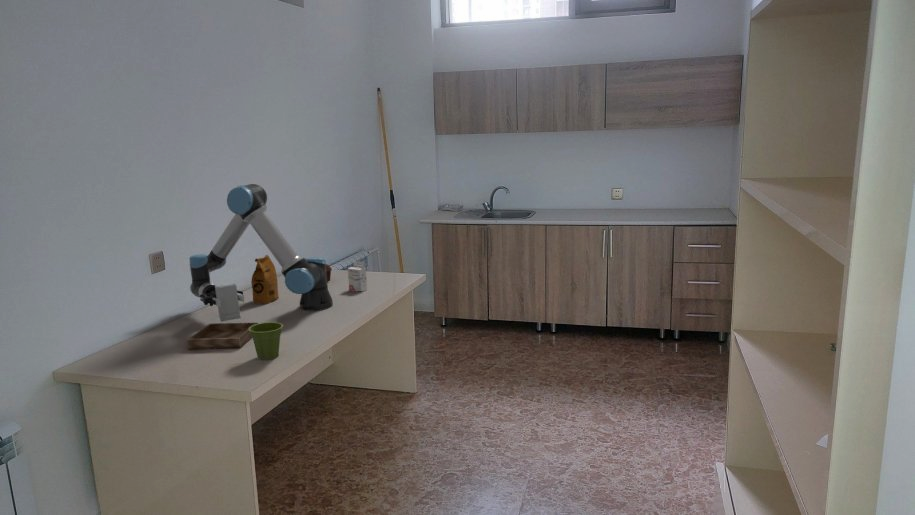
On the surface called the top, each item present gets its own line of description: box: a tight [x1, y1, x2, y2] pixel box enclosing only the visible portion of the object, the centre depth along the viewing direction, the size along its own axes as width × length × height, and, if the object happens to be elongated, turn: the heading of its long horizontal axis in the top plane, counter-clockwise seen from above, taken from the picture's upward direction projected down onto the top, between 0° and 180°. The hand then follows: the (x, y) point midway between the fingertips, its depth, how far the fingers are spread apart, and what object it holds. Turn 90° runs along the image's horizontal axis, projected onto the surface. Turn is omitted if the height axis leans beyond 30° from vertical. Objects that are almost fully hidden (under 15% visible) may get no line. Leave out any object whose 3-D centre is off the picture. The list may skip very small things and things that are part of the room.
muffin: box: [326, 263, 332, 283], centre depth 332 cm, size 12×11×10 cm
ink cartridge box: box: [347, 260, 368, 292], centre depth 310 cm, size 9×5×15 cm, turn 58°
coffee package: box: [251, 254, 279, 305], centre depth 294 cm, size 10×12×22 cm
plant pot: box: [248, 321, 284, 361], centre depth 218 cm, size 12×12×11 cm
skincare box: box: [214, 282, 241, 323], centre depth 254 cm, size 8×6×15 cm
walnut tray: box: [186, 322, 259, 351], centre depth 238 cm, size 20×20×4 cm
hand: (231, 301), depth 251 cm, fingers closed on skincare box, 9 cm apart
